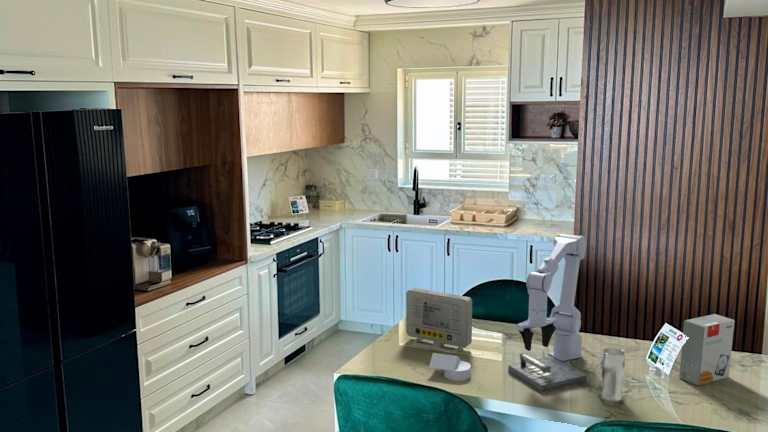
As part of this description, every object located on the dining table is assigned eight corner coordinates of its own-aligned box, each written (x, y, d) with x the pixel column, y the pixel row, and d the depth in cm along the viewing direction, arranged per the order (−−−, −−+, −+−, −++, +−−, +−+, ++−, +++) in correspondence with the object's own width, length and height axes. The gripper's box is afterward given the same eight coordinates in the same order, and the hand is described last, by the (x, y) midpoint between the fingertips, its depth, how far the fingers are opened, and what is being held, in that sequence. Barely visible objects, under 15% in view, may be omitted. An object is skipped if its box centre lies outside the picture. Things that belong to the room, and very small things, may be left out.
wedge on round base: (428, 376, 222) (467, 382, 218) (429, 357, 221) (467, 362, 217) (436, 366, 231) (473, 371, 226) (436, 348, 230) (473, 352, 225)
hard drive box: (698, 387, 213) (703, 327, 210) (678, 378, 220) (682, 320, 216) (730, 377, 220) (735, 319, 217) (709, 369, 227) (714, 312, 223)
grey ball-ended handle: (518, 358, 226) (518, 352, 226) (524, 356, 227) (524, 351, 227) (544, 372, 214) (544, 367, 213) (550, 371, 215) (550, 366, 214)
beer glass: (595, 393, 209) (598, 347, 206) (617, 392, 210) (620, 346, 207) (605, 403, 202) (607, 356, 200) (627, 402, 203) (630, 355, 200)
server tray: (550, 362, 233) (551, 351, 232) (586, 382, 217) (587, 370, 216) (508, 372, 226) (508, 360, 225) (542, 392, 210) (542, 380, 209)
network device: (474, 348, 247) (475, 296, 244) (463, 355, 240) (464, 302, 236) (414, 335, 261) (414, 285, 257) (402, 342, 254) (402, 291, 250)
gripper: (547, 302, 224) (546, 340, 227) (512, 308, 218) (511, 347, 221) (561, 308, 218) (560, 347, 220) (525, 314, 212) (524, 354, 214)
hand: (536, 348), depth 220 cm, fingers open, 6 cm apart
